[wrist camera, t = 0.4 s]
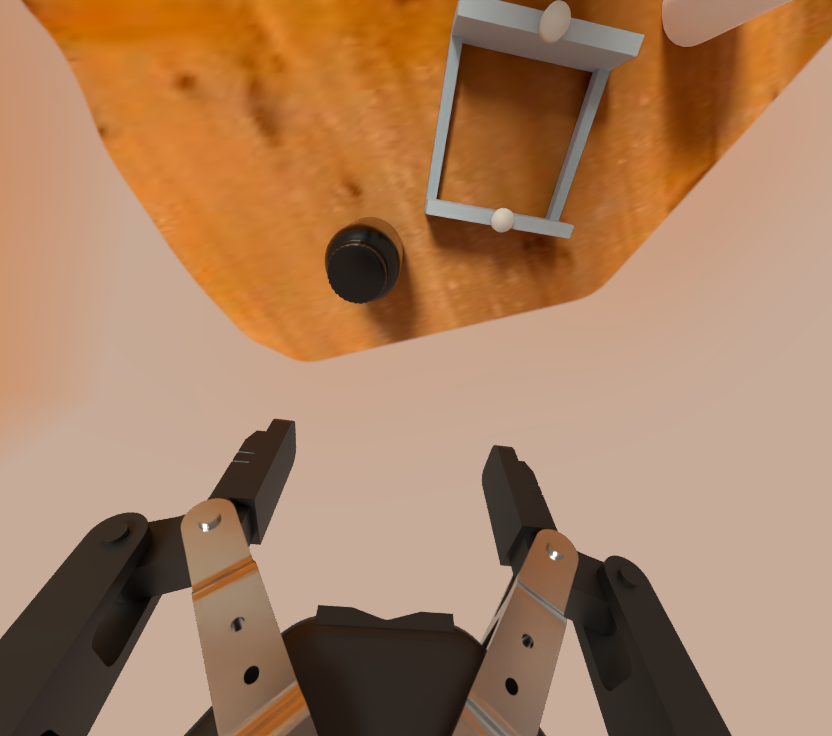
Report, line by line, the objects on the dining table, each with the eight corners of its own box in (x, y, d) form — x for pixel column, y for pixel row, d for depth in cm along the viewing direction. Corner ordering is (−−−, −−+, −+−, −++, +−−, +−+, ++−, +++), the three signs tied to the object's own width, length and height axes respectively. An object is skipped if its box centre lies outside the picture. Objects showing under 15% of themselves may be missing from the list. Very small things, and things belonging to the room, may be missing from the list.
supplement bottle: (415, 248, 36) (418, 275, 26) (376, 291, 39) (363, 332, 28) (368, 200, 34) (349, 209, 23) (329, 250, 36) (296, 278, 26)
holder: (453, 14, 27) (463, -24, 22) (611, 50, 28) (654, 23, 23) (423, 213, 35) (425, 219, 30) (548, 235, 36) (571, 244, 31)
